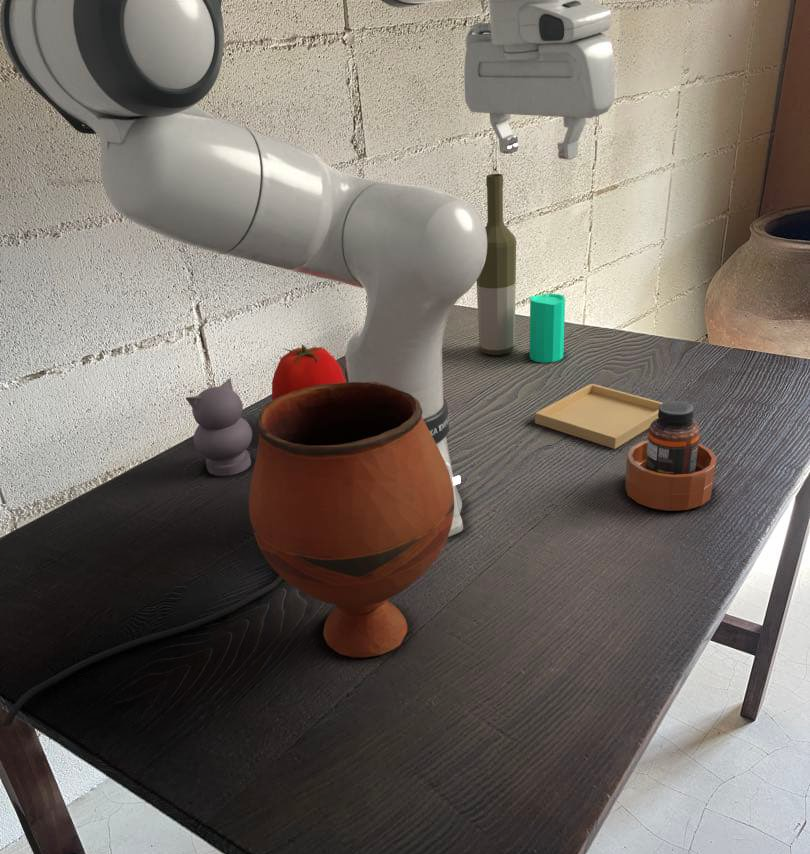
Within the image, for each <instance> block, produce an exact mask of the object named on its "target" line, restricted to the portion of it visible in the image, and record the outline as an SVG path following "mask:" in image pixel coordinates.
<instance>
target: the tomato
mask: <svg viewBox="0 0 810 854" xmlns="http://www.w3.org/2000/svg"><path fill="white" fill-rule="evenodd" d="M324 347H326V346H325V345H324V346H320V347H317V346H312V347H309V348H307V347H306V346H305V345H304V344H303V343H301V347H296V348H293V349H292V350H291V349H288V348H284V350H285V351H287V353H285V354H284V355H283V356H282V357H281V358H280V360H279V362H278V363H277V366H276V368H275V371H274V373H273V377H272V381H271V401H272V400H274V399H275V398H277V397H280V396H283V395H285V394H288V393H290V392H293V391H297V390H301V389H304V388H308V387H312V386H315V385H321V384H329V383H345V382H346V376H345V374H344V372H343V369H342V367H341V366H340V364H339V363H338V361H337V359H336V358H335V357H334V356H333V355H332V354H330V352H329V351H328V350H327V349H326V348H324Z"/></svg>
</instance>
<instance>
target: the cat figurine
mask: <svg viewBox="0 0 810 854" xmlns="http://www.w3.org/2000/svg"><path fill="white" fill-rule="evenodd" d="M185 400H186V401H187V403H188V404H189V405H190V407H191V408H192V409H191V411H192V417H193V418H194V421H195V422H196V424H197V427H196V428H195V431H194V433H193V438H192V441H193V442H192V443H193V444H194V447H195V450H196V451H197V453H198V454H200V455H202V456H203V457H204V458H205V465H206V470H207V472H208V473H209V474H211V475H214V476H218V477H226V476H233V475H237V474H239V473H242V472H244V471H246V470H248V469H249V468H250V466H251V464H252V460H251V453H250V452H249V450H247V449H248V447H249V446H250V445H251V442H252V440H253V439H252V438H253V430H252V427H251V426H250V424H249V422H248V421H247V420H246V419H244V418H243V417H242V414H243V411H244V404H243V401H242V399H241V397H240V396H239V394H238V392H237V391H234V390H233V385H232V380H231V378H228V379H227V380H226V381H224V382H223V383H222V384H220V386H212V387H209V388H205V389H204V390H202V391H201V392H199V394H198V395H195V396H194V395H193V396H187V397H185Z"/></svg>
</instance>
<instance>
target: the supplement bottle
mask: <svg viewBox="0 0 810 854" xmlns="http://www.w3.org/2000/svg"><path fill="white" fill-rule="evenodd" d="M658 417H659V418H657V419H656V420H654V421H653V422H652V423H651V425H650V427H649V428H648V435H647V440H648V445H647V458H646V469H648V470H651V471H654V472H657V473H664V474H671V475H677V474H691V473H694V472H695V469H696V460H697V451H698V443H700V442H699V441H700V432H701V431H700V425H698V422H696V421H695V420H694V419H693V418H694V406H693V405H692V404H690V403H689V402H686V401H682V400H669V401H665V402H662V404H661V405H660V406H659V412H658Z"/></svg>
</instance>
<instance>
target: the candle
mask: <svg viewBox="0 0 810 854" xmlns="http://www.w3.org/2000/svg"><path fill="white" fill-rule="evenodd" d="M546 290H547V291H546V293H545V294H538V295H531V296H529V359H530V360H531V361H534V362H537V363H554V362H558V361H561V360H562V359H563V358H564V350H565V349H564V348H565V346H564V345H565V317H566V298H565V295H564V294H560V293H549V289H548V288H546Z"/></svg>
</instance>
